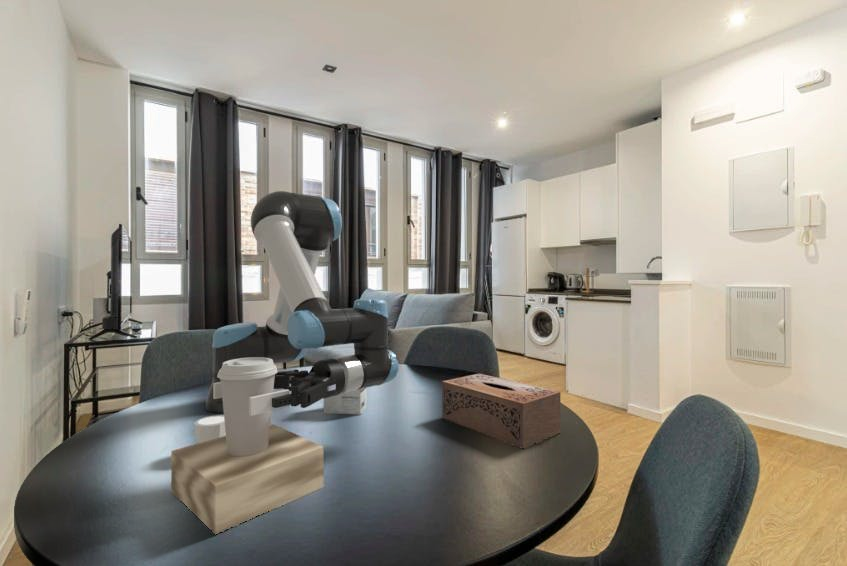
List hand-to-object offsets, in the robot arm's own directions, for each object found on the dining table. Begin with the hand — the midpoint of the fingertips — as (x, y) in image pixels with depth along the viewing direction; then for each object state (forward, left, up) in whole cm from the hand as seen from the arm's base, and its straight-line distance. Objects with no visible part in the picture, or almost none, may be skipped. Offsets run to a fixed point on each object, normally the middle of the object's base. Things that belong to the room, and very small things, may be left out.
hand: (230, 398), depth 67 cm
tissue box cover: (+16, +59, -17) cm, 63 cm away
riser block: (0, +3, -16) cm, 17 cm away
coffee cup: (0, +3, -10) cm, 10 cm away
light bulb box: (-22, +41, -17) cm, 49 cm away
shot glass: (-20, +5, -17) cm, 26 cm away
